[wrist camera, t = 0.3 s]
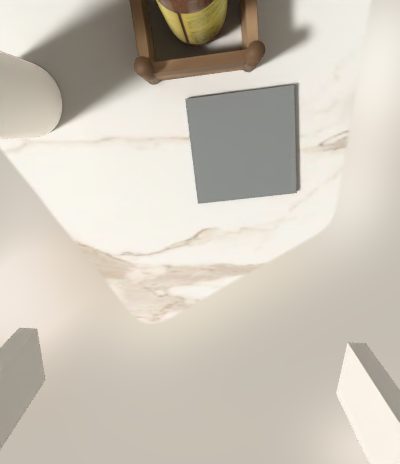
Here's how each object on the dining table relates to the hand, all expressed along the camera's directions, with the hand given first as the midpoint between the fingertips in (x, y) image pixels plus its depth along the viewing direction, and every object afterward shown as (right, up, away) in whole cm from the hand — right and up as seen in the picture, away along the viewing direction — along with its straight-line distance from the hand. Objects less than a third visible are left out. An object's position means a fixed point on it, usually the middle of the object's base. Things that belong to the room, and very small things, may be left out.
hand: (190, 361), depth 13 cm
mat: (+5, +16, +23) cm, 29 cm away
